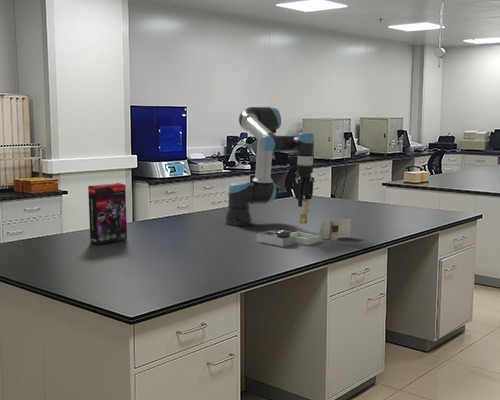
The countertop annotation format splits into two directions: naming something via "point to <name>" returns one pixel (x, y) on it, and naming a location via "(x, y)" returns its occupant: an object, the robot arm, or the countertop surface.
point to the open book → (335, 229)
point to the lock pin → (304, 216)
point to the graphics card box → (107, 213)
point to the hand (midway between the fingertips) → (303, 212)
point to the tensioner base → (276, 238)
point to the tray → (306, 238)
